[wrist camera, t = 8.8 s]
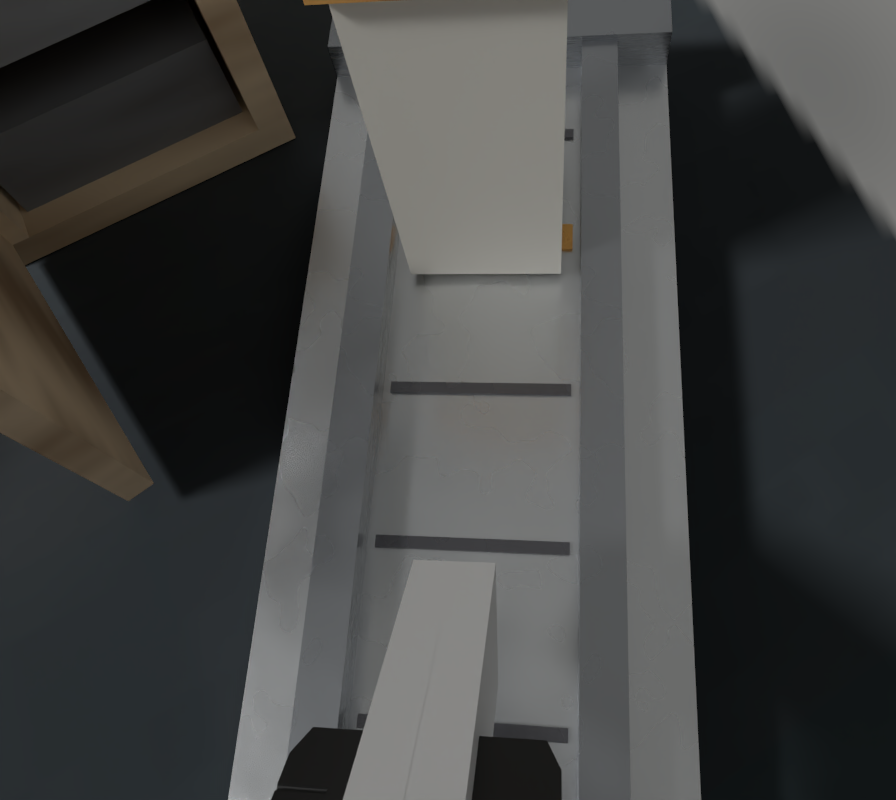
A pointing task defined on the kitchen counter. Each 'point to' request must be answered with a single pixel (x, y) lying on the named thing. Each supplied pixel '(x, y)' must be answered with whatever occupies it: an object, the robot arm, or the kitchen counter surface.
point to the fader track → (496, 449)
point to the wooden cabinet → (106, 178)
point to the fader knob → (465, 126)
